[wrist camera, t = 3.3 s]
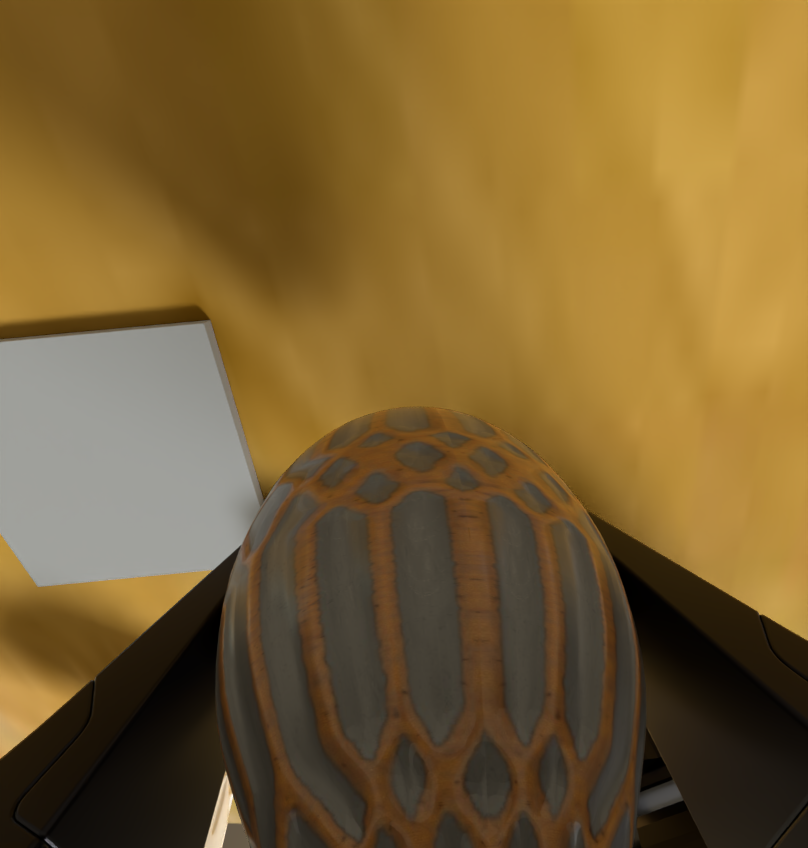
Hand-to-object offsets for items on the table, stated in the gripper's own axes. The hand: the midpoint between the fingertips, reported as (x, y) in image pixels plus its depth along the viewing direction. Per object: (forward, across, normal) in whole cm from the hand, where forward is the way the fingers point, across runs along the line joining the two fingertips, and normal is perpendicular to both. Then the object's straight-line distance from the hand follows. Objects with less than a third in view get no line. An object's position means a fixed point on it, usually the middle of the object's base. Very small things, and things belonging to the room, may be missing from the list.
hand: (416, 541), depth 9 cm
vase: (+2, 0, 0) cm, 2 cm away
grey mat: (+9, +13, +2) cm, 16 cm away
